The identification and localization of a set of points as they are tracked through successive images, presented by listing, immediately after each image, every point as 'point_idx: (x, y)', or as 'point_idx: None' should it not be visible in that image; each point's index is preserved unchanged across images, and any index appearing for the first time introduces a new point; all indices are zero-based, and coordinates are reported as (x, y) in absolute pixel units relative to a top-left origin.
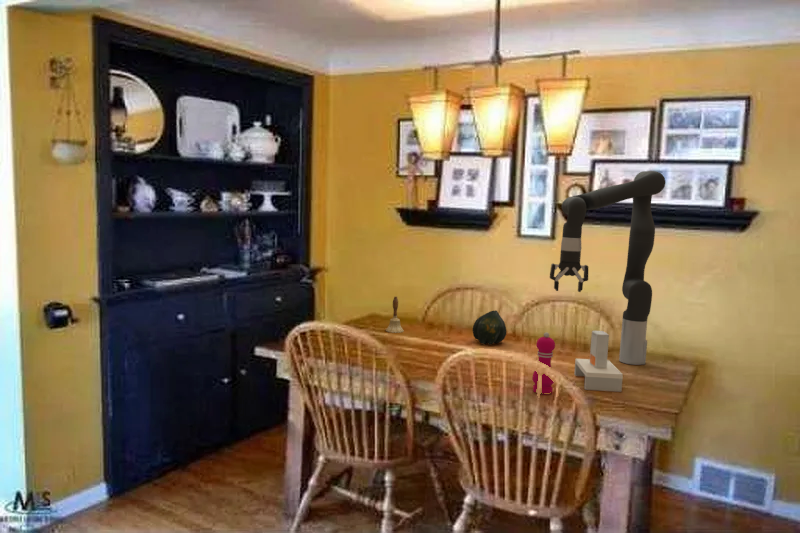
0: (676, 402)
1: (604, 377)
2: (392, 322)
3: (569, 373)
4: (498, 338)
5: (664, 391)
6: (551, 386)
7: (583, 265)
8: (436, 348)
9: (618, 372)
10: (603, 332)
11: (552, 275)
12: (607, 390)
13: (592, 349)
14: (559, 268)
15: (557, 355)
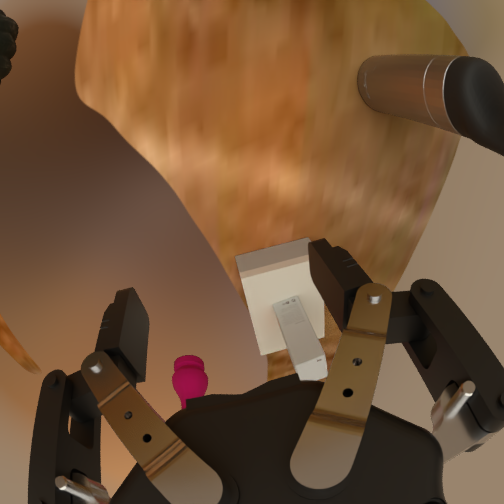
0: None
1: None
2: None
3: (223, 251)
4: (1, 78)
5: (381, 281)
6: (202, 367)
7: (475, 443)
8: None
9: (319, 331)
10: (320, 366)
11: (88, 436)
12: None
13: (284, 340)
14: (125, 489)
15: (182, 77)
